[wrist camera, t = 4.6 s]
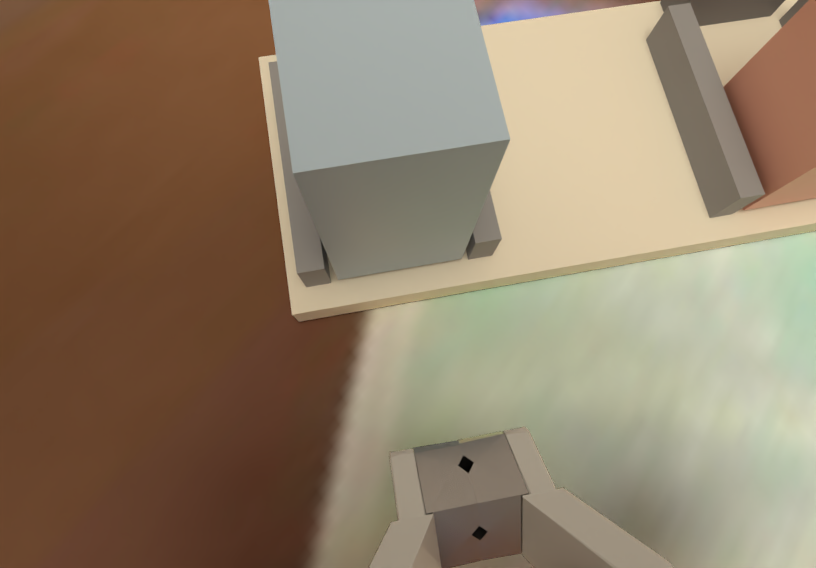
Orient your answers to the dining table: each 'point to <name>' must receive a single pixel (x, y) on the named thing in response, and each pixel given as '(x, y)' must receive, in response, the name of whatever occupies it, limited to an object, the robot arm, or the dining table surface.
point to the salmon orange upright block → (781, 111)
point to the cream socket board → (581, 155)
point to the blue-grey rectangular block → (389, 126)
